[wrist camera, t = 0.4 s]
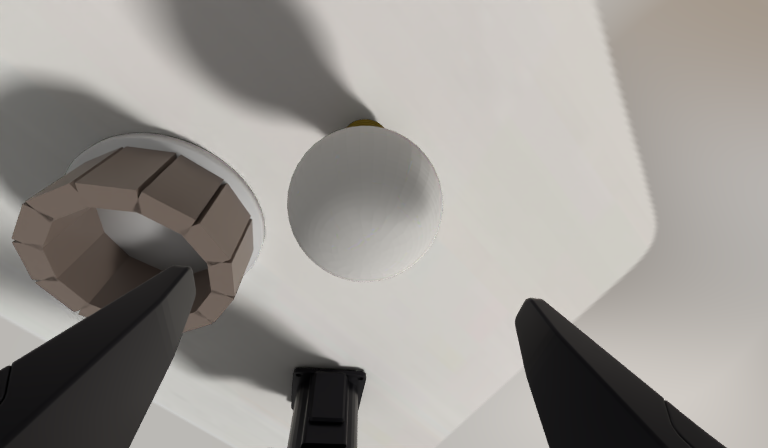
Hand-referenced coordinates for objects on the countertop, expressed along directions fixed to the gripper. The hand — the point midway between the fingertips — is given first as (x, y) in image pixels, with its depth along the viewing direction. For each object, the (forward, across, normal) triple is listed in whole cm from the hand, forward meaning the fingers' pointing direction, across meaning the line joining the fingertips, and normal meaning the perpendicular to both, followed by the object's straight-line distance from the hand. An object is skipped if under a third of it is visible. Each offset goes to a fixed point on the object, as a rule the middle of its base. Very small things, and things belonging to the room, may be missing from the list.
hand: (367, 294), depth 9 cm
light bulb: (+12, 0, 0) cm, 12 cm away
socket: (+12, +11, +7) cm, 18 cm away
